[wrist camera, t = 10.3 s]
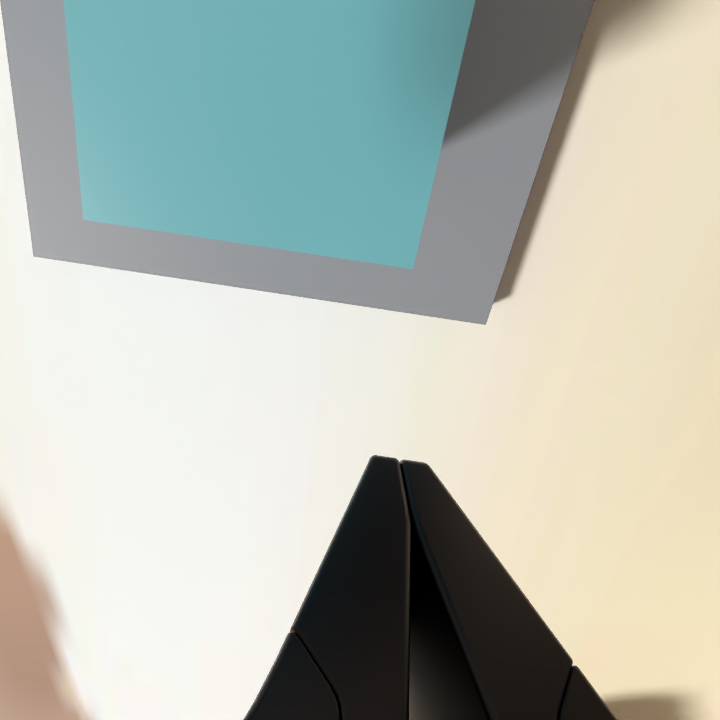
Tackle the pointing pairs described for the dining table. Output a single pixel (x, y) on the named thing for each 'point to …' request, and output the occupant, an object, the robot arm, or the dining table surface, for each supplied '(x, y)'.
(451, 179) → the base board
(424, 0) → the teal block
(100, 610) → the dining table surface
